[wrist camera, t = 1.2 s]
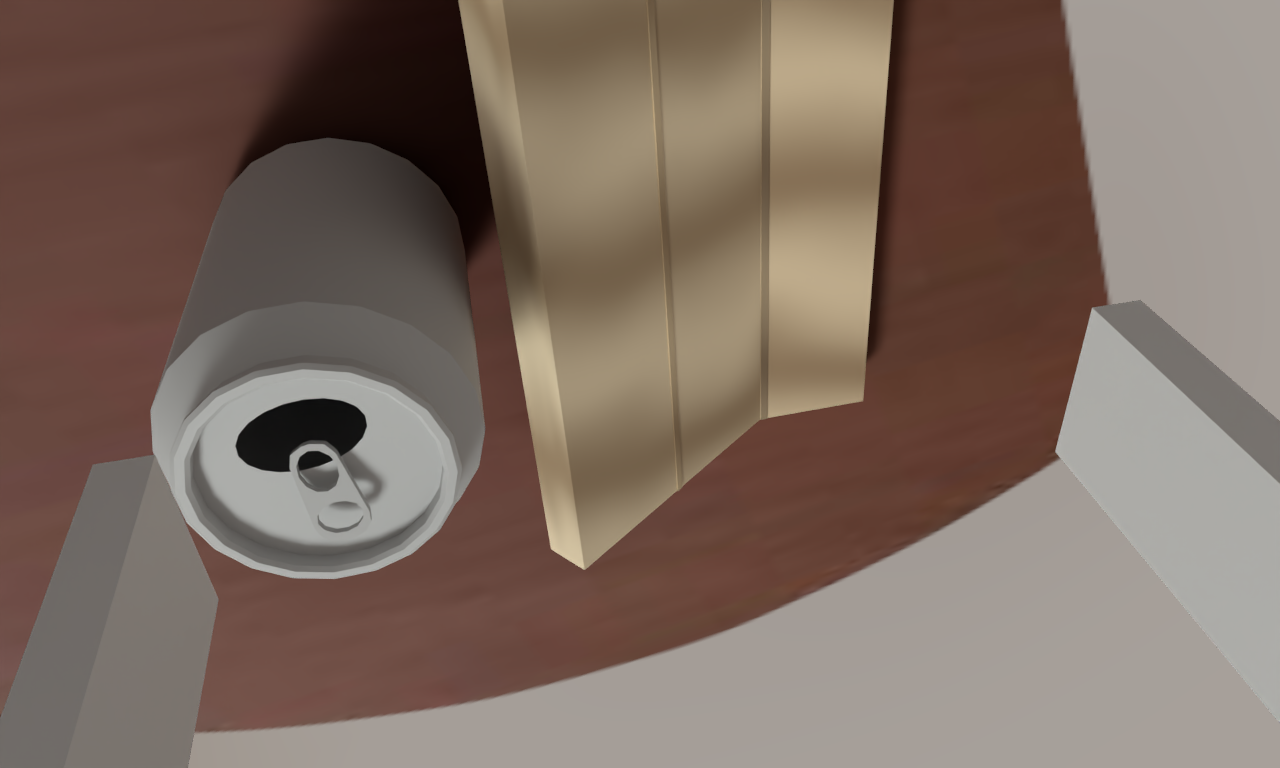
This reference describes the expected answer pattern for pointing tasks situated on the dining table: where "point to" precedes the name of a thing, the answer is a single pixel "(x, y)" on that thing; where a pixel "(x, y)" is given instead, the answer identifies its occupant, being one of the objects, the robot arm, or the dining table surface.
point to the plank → (625, 240)
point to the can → (324, 366)
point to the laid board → (819, 196)
